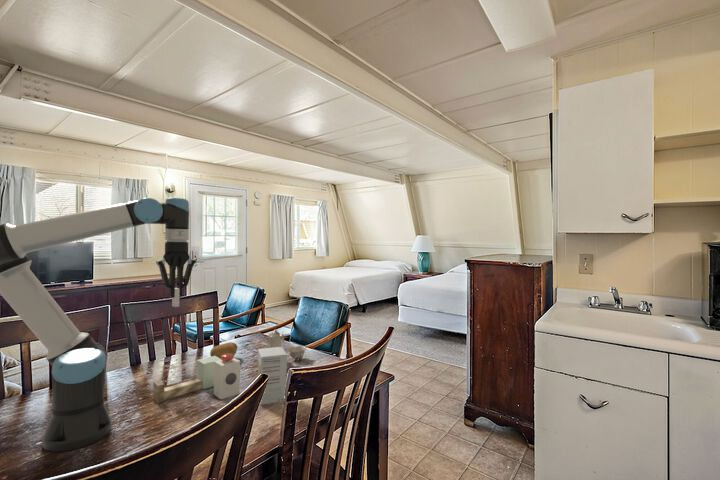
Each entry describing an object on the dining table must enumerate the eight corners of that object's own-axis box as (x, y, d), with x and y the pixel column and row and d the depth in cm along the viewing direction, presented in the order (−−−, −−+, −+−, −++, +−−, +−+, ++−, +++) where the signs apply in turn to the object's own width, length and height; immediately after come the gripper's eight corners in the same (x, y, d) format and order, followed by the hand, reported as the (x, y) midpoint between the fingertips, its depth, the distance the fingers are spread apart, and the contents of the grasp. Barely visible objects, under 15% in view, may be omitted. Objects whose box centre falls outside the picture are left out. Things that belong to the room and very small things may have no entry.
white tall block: (221, 399, 121) (222, 366, 121) (213, 394, 125) (214, 361, 125) (240, 393, 126) (240, 361, 126) (231, 388, 130) (232, 356, 130)
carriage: (203, 389, 128) (203, 364, 128) (196, 384, 132) (197, 359, 132) (221, 383, 134) (221, 359, 133) (214, 379, 138) (215, 355, 138)
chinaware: (281, 383, 140) (286, 343, 140) (245, 374, 144) (250, 335, 144) (308, 360, 167) (312, 326, 167) (277, 353, 171) (281, 320, 171)
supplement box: (256, 393, 126) (257, 348, 126) (281, 390, 130) (282, 345, 130) (259, 405, 117) (260, 356, 117) (286, 401, 121) (287, 353, 121)
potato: (243, 357, 164) (243, 341, 164) (221, 367, 151) (221, 349, 151) (227, 354, 168) (227, 338, 168) (204, 364, 155) (204, 346, 155)
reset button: (224, 370, 123) (224, 358, 123) (218, 367, 126) (218, 355, 126) (235, 367, 126) (235, 355, 126) (230, 364, 129) (230, 352, 129)
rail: (157, 403, 118) (158, 385, 117) (153, 398, 121) (153, 381, 121) (229, 381, 137) (230, 366, 137) (224, 377, 140) (224, 363, 140)
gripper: (160, 241, 116) (159, 310, 116) (199, 241, 126) (198, 305, 126) (153, 240, 121) (152, 307, 121) (191, 241, 131) (190, 302, 131)
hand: (175, 306), depth 124 cm, fingers closed
